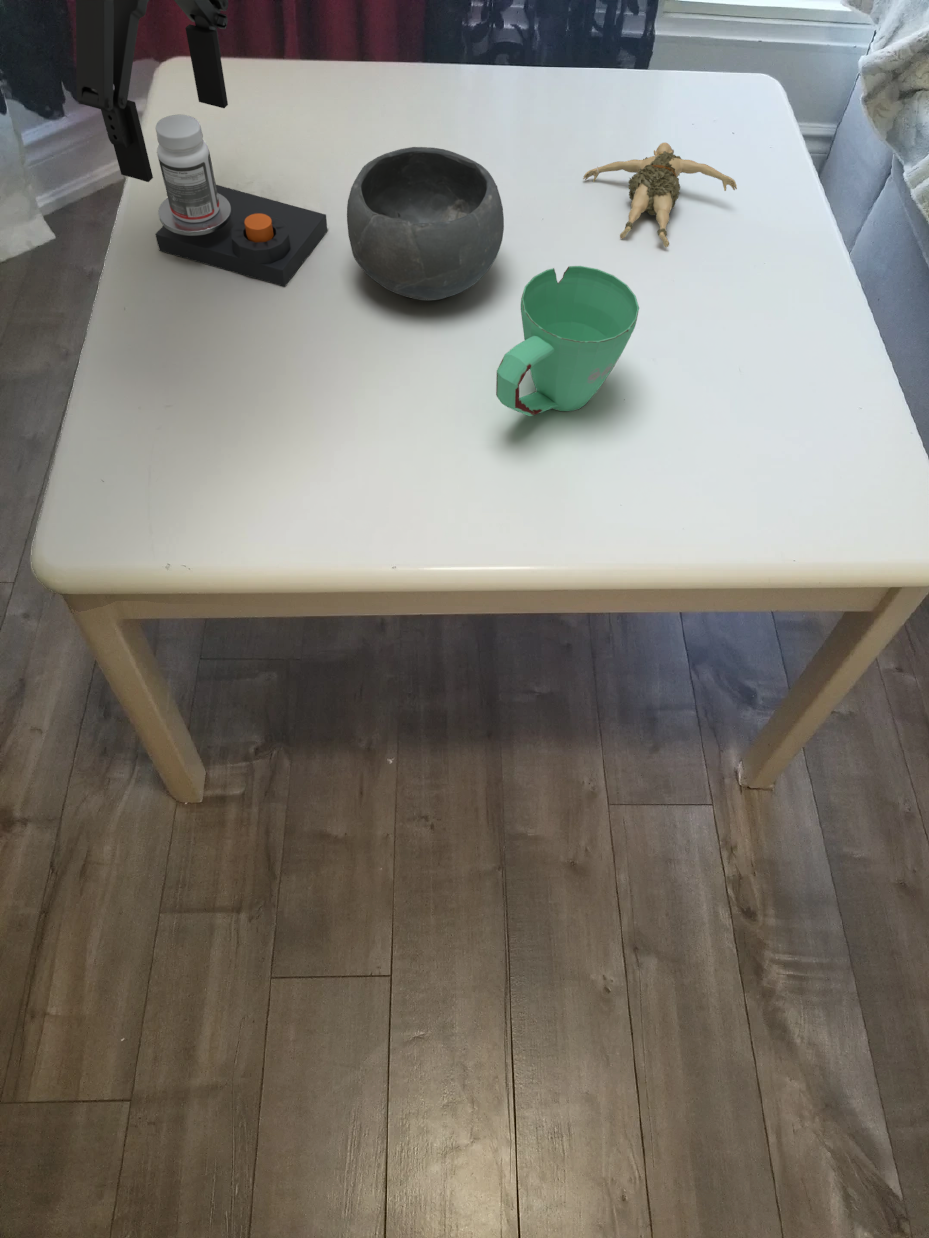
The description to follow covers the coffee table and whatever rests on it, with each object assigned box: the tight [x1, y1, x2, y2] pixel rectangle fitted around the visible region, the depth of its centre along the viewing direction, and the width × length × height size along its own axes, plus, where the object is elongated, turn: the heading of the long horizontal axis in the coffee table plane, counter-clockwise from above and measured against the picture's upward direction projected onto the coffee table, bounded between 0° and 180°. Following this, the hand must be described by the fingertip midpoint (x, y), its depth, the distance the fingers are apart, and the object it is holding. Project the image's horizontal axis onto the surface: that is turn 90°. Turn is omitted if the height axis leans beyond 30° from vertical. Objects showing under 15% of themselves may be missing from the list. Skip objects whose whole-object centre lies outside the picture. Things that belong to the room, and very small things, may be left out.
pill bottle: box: [155, 114, 219, 223], centre depth 86 cm, size 5×5×8 cm
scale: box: [154, 184, 328, 287], centre depth 92 cm, size 14×10×4 cm
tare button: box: [244, 214, 274, 242], centre depth 89 cm, size 3×3×2 cm
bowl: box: [346, 146, 505, 301], centre depth 88 cm, size 15×15×10 cm
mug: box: [495, 265, 640, 417], centre depth 79 cm, size 15×10×10 cm
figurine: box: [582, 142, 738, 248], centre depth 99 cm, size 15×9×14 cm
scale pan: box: [157, 193, 232, 236], centre depth 90 cm, size 7×7×1 cm
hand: (177, 139), depth 84 cm, fingers open, 13 cm apart
